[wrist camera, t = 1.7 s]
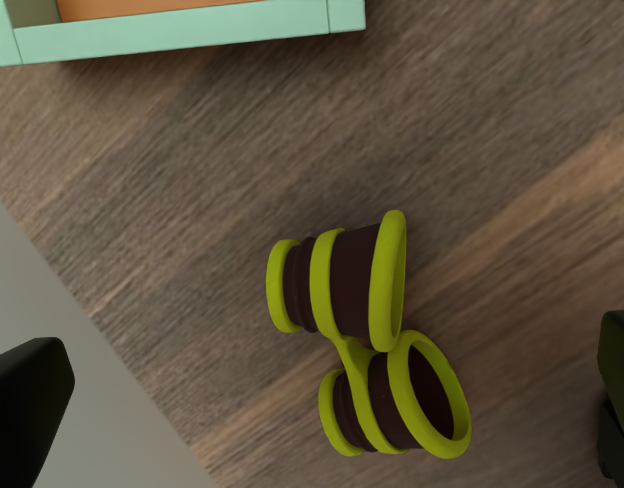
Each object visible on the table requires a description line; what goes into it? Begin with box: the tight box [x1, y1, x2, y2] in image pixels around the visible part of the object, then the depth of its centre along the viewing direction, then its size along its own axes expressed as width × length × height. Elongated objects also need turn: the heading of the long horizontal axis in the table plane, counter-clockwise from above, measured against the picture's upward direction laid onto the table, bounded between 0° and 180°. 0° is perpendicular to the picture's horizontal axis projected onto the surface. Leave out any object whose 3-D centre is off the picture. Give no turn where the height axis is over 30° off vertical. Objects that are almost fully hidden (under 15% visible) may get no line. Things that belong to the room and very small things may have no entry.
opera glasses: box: [266, 210, 472, 459], centre depth 21 cm, size 10×5×5 cm, turn 21°
